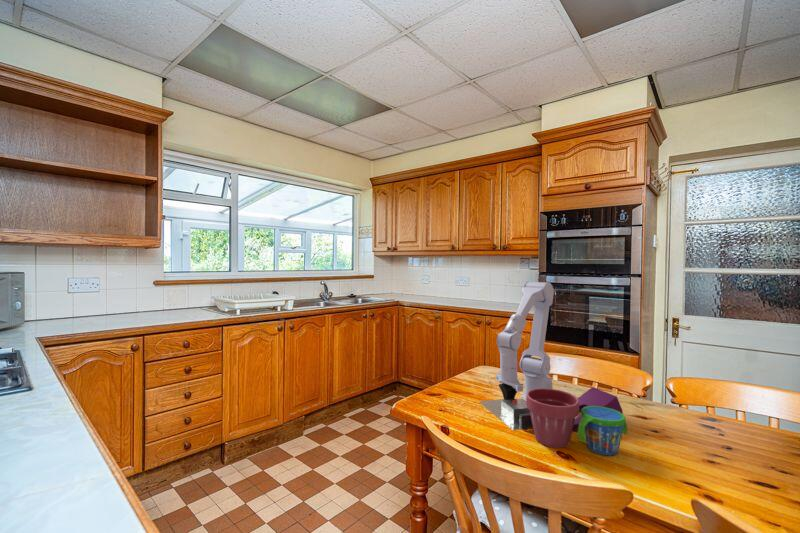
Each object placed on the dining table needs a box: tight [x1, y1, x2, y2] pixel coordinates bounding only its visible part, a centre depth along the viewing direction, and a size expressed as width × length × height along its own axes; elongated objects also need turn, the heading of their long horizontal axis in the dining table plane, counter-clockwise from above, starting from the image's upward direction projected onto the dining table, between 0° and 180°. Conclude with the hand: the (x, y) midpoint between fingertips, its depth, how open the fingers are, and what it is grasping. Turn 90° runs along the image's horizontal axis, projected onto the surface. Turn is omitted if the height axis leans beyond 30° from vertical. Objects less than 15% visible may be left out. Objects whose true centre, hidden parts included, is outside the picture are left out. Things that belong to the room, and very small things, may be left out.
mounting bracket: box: [572, 386, 624, 431], centre depth 117 cm, size 9×8×18 cm
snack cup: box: [576, 406, 628, 456], centre depth 101 cm, size 16×10×10 cm
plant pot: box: [525, 388, 580, 449], centre depth 106 cm, size 14×14×13 cm
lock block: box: [501, 397, 530, 422], centre depth 122 cm, size 8×8×5 cm
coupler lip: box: [478, 398, 533, 431], centre depth 125 cm, size 14×24×4 cm, turn 13°
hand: (508, 405), depth 128 cm, fingers closed
